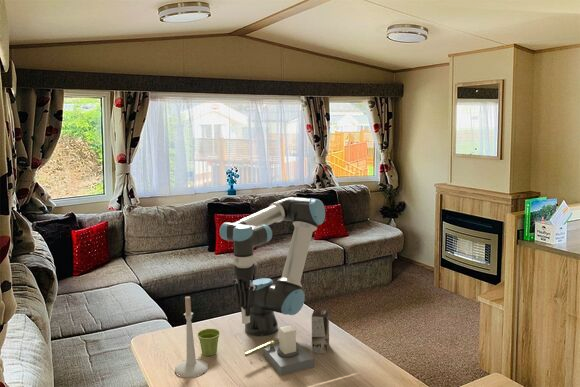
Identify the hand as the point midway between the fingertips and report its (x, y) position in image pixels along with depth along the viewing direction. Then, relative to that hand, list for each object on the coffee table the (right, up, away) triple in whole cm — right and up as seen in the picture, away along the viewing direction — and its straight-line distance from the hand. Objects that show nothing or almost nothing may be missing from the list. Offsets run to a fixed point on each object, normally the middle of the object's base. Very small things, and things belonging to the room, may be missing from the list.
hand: (246, 322), depth 194 cm
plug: (+17, -16, +1) cm, 23 cm away
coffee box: (+30, -14, +12) cm, 36 cm away
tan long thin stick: (+6, -11, +1) cm, 12 cm away
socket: (+17, -16, +1) cm, 23 cm away
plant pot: (-16, -16, +10) cm, 25 cm away
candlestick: (-21, -18, -3) cm, 28 cm away
